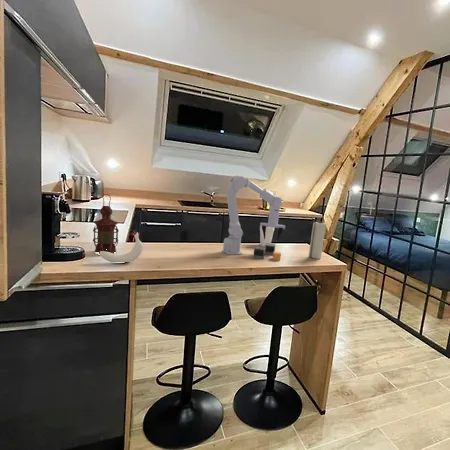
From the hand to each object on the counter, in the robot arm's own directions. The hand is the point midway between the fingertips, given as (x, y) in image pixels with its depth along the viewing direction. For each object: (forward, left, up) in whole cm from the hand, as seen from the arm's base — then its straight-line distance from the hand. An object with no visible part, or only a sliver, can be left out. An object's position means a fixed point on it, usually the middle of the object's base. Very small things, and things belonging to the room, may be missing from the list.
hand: (270, 239), depth 180 cm
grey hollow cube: (-11, -6, -9) cm, 15 cm away
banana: (-85, -7, -9) cm, 86 cm away
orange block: (-2, -12, -9) cm, 15 cm away
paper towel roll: (+25, -11, -9) cm, 29 cm away
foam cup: (+8, +18, -9) cm, 22 cm away
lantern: (-91, +11, -9) cm, 92 cm away
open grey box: (0, 0, -9) cm, 9 cm away
